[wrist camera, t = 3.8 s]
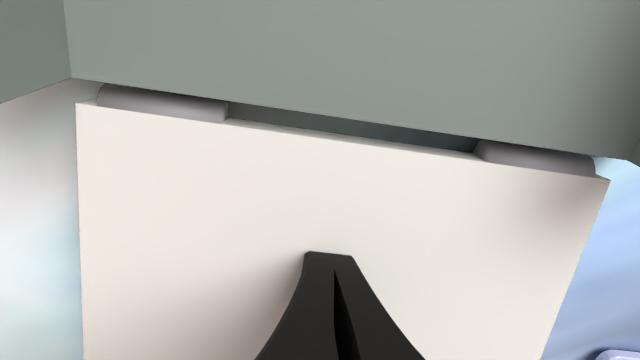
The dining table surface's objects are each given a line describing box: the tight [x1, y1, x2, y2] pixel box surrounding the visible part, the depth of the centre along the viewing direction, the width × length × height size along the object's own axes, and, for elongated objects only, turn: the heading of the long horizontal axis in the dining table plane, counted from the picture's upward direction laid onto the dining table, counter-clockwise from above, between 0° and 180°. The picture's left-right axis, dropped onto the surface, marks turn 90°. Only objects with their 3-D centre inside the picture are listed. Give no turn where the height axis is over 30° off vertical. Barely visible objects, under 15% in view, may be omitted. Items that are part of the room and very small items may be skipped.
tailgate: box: [75, 84, 611, 360], centre depth 12 cm, size 8×14×1 cm, turn 81°
